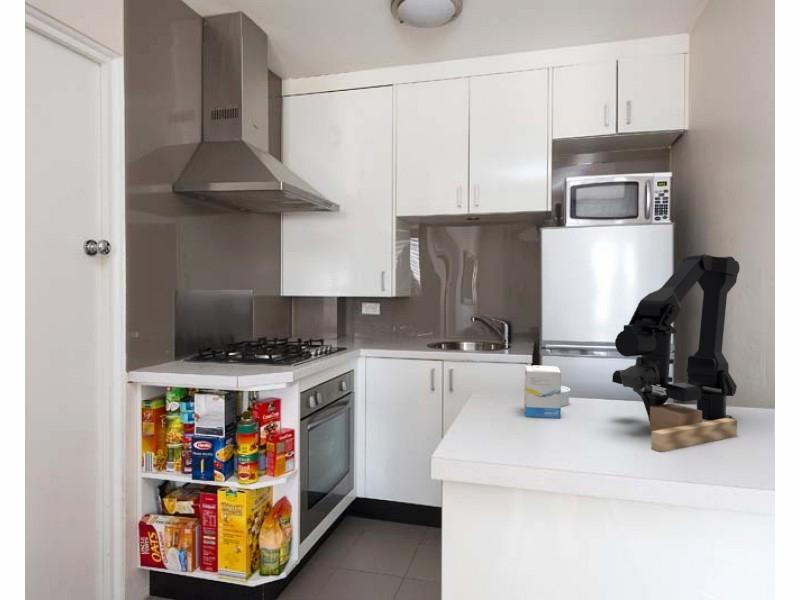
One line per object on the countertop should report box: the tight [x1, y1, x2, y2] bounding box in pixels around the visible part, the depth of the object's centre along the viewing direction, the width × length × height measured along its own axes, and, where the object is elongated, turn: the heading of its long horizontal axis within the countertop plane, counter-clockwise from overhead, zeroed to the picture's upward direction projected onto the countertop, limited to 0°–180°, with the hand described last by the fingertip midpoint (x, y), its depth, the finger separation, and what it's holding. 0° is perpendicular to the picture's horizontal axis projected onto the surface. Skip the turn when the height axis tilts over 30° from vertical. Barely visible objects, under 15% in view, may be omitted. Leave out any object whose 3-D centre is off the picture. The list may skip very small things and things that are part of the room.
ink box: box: [523, 364, 562, 419], centre depth 123 cm, size 9×8×12 cm
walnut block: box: [649, 402, 703, 435], centre depth 105 cm, size 7×7×6 cm
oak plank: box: [650, 418, 738, 453], centre depth 101 cm, size 24×2×4 cm, turn 114°
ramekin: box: [561, 385, 571, 407], centre depth 134 cm, size 9×9×4 cm
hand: (651, 421), depth 110 cm, fingers closed
